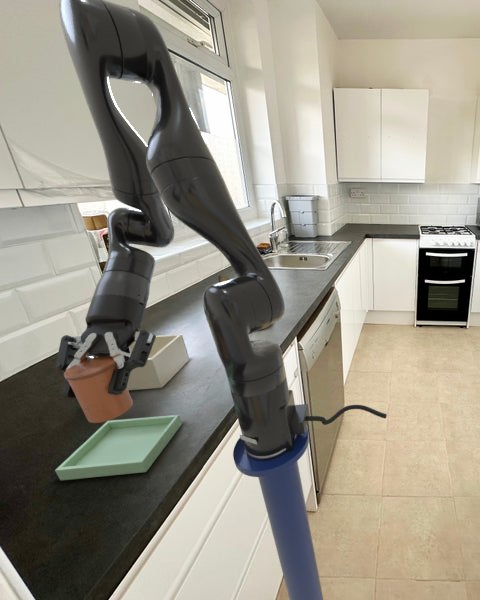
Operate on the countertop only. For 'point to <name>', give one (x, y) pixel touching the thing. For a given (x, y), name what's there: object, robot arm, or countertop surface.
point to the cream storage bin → (160, 363)
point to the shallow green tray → (120, 448)
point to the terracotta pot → (97, 389)
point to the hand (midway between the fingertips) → (93, 395)
